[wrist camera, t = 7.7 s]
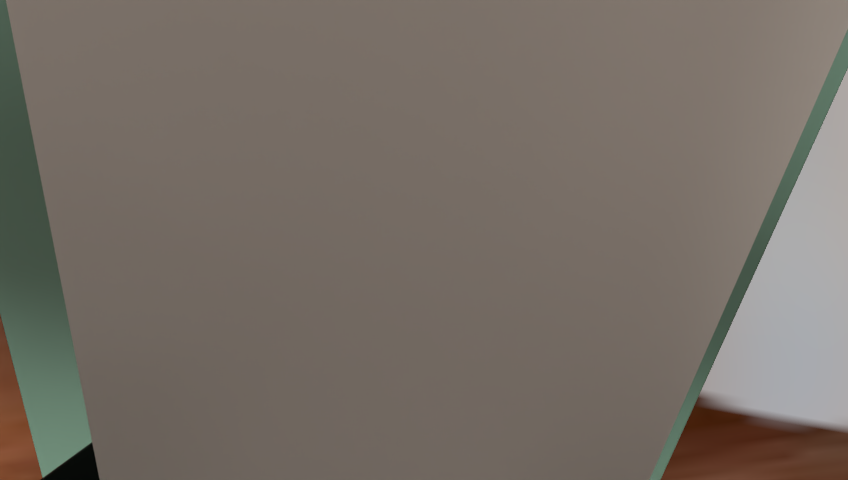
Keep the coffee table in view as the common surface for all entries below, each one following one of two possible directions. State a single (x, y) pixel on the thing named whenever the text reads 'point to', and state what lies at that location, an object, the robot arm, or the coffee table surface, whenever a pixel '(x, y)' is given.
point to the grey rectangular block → (405, 222)
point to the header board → (45, 306)
